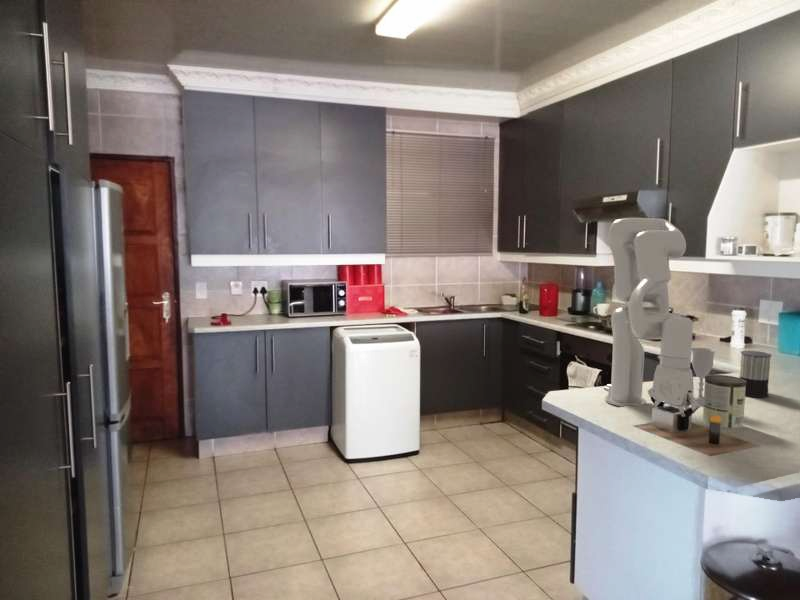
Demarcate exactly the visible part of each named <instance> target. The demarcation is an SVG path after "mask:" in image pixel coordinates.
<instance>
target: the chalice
mask: <svg viewBox="0 0 800 600" xmlns="http://www.w3.org/2000/svg"><path fill="white" fill-rule="evenodd" d="M691 353H692V355H691V364H692V370H693V371H694V373H695V375H696V377H698V378H699V382H698V383H697V384H698V386H699V387H698V388H697V390H698V394H697V395H695V396H694V398H695V399H696V400H697V401H698V403H699V404H700V407H704V394H703V391H704V390H705V388H703V387H704V386H705V382H704V379H705V376H708V375H709V374H710V372H711V370H712V368H713V366H714V357H715V353H716V350H715V349H712V348H709V347H708V348H705V347H692V348H691Z"/></svg>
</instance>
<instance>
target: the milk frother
mask: <svg viewBox="0 0 800 600" xmlns="http://www.w3.org/2000/svg"><path fill="white" fill-rule="evenodd" d="M740 354H741V357H740V370H739V371H740V373H739V378H741V379H744V380H746V381H747V384H746V391H745V397H751V398H755V399H756V398H761V399H762V398H763V399H764V398H768V397H769V381H770V380H769V379H770V370H771V369H770V368H771V357H772V356H773V355H772V354H771V353H769V352H768V353H767V352H766V351H765V352H764V351H757V350H742V351H740Z"/></svg>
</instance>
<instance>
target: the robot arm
mask: <svg viewBox="0 0 800 600" xmlns="http://www.w3.org/2000/svg"><path fill="white" fill-rule="evenodd" d="M686 242H687V241H686V238H685V235H684V234H683V232H682V231H681V230H680V229H679V228H678V227H676V226H675V225H674V224H672V223H671V222H670V221H669V220H667V219H664V218H661V217H660V218H658V217H657V218H656V217H653V218H652V217H651V218H649V217H625V218H624V217H623V218H619V219H615V220H614V221H613V222H612V223H611V225H610V227H609V230H608V243H609V248H610V249H609V250H610V251H611V255H612V258H613V259H612V260H613V264H614V265H613V266H614V267H613V268H614V269H613V271H614V289H615V290H614V292H615V297H616V299H617V300H618V301H619V302H622V303H628V306H622V307H618V308H616V309H615V310H614V311H613V312H612V313H611V317H610V321H611V322H610V324H611V325H610V326H611V330H612V332H611V333H612V362H611V380H610V381H611V383H608V384H606V386H604V387H603V390H604V391H605V392H608V393H607V394H608V395H605V397H604V399H605V402H606V403H608V404H610V405H613V406H615V407H616V406H617V407H622V408H623V407H624V408H625V407H632V406H639V405H646V404H647V400H646V399H645V398H643V384H644V383H643V381H644V366H645V365H644V364H645V348H644V347H643V344H642V343H641V342H640V340H660V354H658V356H657V359H658V360H659V364H657V366H656V368H655V371H654V375H653V380H652V387H651V388H649V389H648V390H647V394H648V395H649V398H650V400H651V402H652V403H653V405H652V406H653V407H660V406H665V404H667V405H672V406H676V407H678V408H679V411H680V414H681V416H679V423H678V430H679V431H683V430H688V427H689V416H691V415H692V416H693V414H695V412H696V411H697V410H699V408H701V406H700V404H699V403H698V401H697V400H696V399H695V398H694V397H695V396H694V376H693V369H691V364H692V350H691V348H693V346H692V345H693V331H694V323H693V321H692V319H690V318H689V317H688V318H687V317H684V316H683V317H682V316H681V314H678V313H673V312H672V313H671V312H670V302H669V300H670V298H669V288H668V287H669V285H668V283H669V282H670V281H671V279H672V274H671V270H670V264H669V259H679V258H681V257H682V256H683V255H684V254H685V253H686V249H687V243H686ZM644 304H648V306H644ZM639 339H640V340H639ZM684 409H685V410H686V411H685V410H684Z"/></svg>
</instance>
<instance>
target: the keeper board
mask: <svg viewBox="0 0 800 600" xmlns="http://www.w3.org/2000/svg"><path fill="white" fill-rule="evenodd" d="M651 423H652V422H648V423H642V424H634V425H633V427H634V428H637V429H639V430H642V431H645V432H647V433H650V434H653V435H655V436H658V437H660V438H663V439H664V440H665V439H666V440H668V441H671V442H673V443H675V444H678V445H681V446H683V447H685V448H688V449H691V450H693V451H696V452H699V453H702V454H704V455H707V456H709V457H714V456H718V455H724V454H730V453H734V452H737V451H743V450H748V449H753V448H757V447H758V448H759V447H760V445H759V444H757V443H753V442H751V441H747V440H743V439H741V438H737V437H736V436H732V435H730V434H729V435H728V434H727V433H723V432H721V431H720V441H719V444H711V443H709V428H710V427H706V426H703V425H699V424H697V423H693V422H692V423H691V430H686V431H680V432H674V433H672V432H669V431H666V430H664V429H661V428H658V427H655V426H653V425H651Z"/></svg>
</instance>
